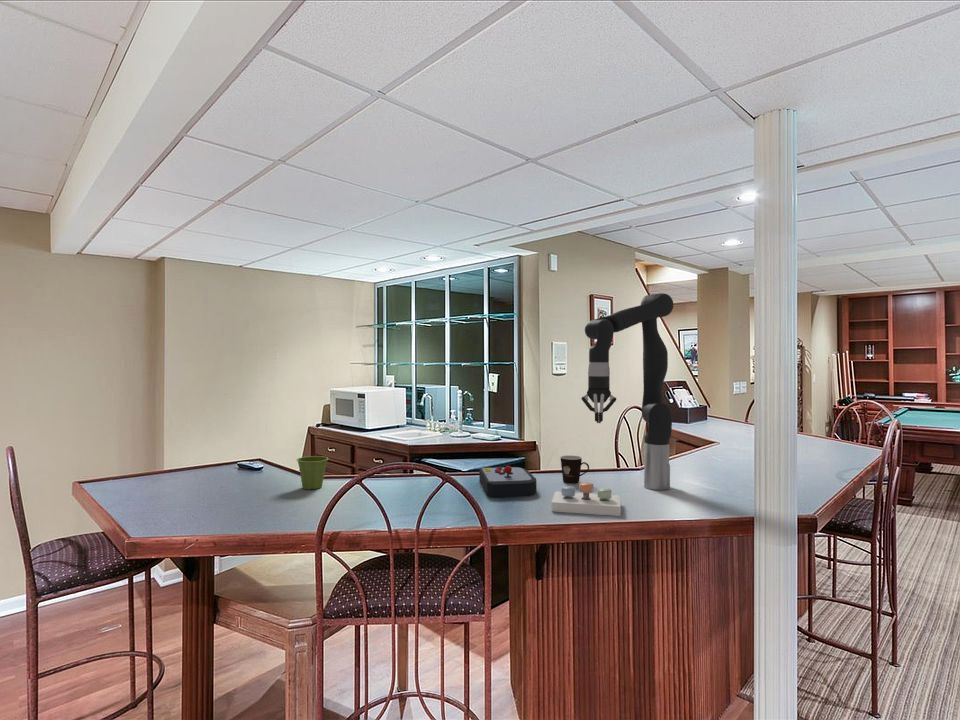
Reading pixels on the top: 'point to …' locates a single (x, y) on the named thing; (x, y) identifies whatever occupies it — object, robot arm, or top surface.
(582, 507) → the console
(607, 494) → the sage button
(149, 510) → the top surface
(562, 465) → the coffee mug
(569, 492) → the slate button
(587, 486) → the terracotta button
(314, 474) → the plant pot
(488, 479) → the arcade joystick
